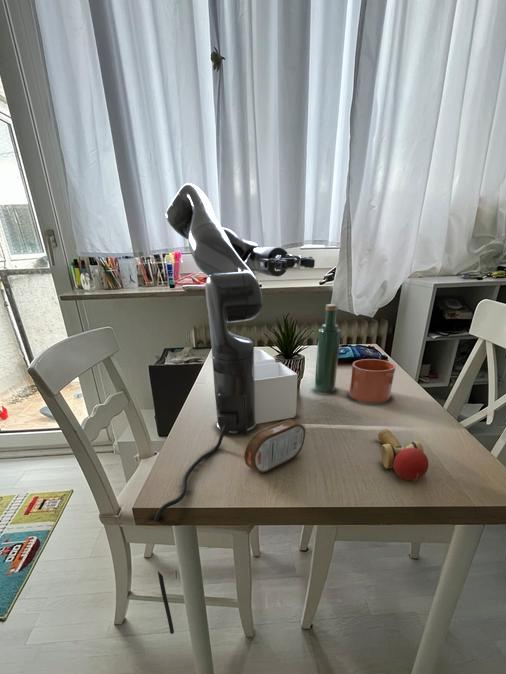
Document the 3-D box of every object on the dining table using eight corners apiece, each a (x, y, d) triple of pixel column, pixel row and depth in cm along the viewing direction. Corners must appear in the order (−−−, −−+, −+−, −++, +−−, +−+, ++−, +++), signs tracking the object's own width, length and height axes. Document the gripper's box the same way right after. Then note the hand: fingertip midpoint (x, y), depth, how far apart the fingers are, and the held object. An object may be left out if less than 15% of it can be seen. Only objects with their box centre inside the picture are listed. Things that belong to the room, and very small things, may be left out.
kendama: (362, 448, 86) (390, 482, 70) (370, 420, 84) (401, 450, 68) (395, 452, 87) (431, 488, 71) (404, 425, 84) (443, 456, 68)
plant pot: (392, 405, 103) (399, 371, 99) (350, 403, 105) (354, 370, 100) (386, 390, 113) (391, 359, 108) (347, 389, 114) (350, 358, 109)
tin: (295, 449, 84) (297, 412, 80) (306, 454, 82) (309, 417, 78) (243, 474, 76) (242, 435, 72) (254, 480, 74) (253, 441, 70)
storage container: (295, 417, 98) (297, 374, 93) (255, 424, 96) (254, 380, 90) (261, 386, 118) (261, 349, 113) (226, 391, 116) (224, 353, 110)
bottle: (335, 394, 111) (344, 306, 98) (314, 394, 112) (320, 306, 99) (334, 387, 116) (342, 303, 103) (314, 387, 117) (320, 303, 104)
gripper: (249, 247, 112) (276, 249, 100) (292, 245, 117) (323, 247, 105) (250, 277, 116) (276, 282, 104) (291, 273, 121) (321, 278, 109)
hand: (299, 264), depth 104 cm, fingers open, 8 cm apart
